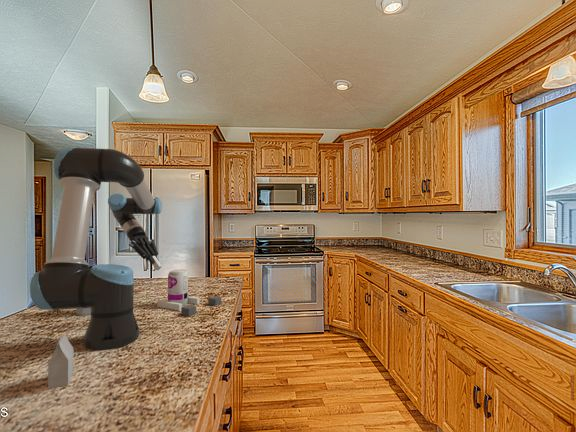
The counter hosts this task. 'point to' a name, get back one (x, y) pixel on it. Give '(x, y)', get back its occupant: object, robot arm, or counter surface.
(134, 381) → the counter surface
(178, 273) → the supplement can
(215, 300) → the chute
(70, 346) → the gray house shaped block
